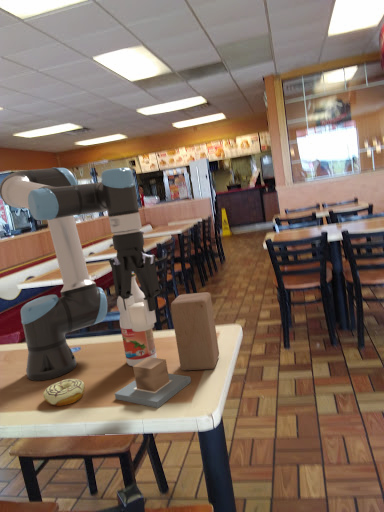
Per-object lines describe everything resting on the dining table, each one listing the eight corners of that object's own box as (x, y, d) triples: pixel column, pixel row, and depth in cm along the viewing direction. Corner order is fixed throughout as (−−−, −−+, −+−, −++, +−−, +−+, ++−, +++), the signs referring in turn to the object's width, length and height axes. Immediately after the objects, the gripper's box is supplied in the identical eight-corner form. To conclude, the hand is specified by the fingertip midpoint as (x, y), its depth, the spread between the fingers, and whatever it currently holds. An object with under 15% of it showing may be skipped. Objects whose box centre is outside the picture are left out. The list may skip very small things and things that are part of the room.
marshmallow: (127, 331, 106) (123, 308, 105) (142, 323, 110) (138, 301, 109) (144, 332, 102) (140, 308, 102) (158, 324, 107) (154, 301, 106)
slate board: (115, 399, 107) (114, 393, 107) (150, 375, 118) (149, 370, 118) (158, 407, 99) (156, 401, 99) (191, 382, 110) (190, 376, 110)
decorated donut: (50, 413, 105) (48, 399, 105) (41, 399, 114) (38, 386, 114) (91, 397, 110) (88, 384, 110) (79, 385, 120) (76, 372, 119)
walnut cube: (136, 388, 108) (132, 366, 107) (151, 378, 112) (148, 357, 112) (154, 391, 104) (150, 369, 103) (169, 381, 109) (165, 359, 108)
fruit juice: (163, 358, 130) (148, 270, 126) (137, 369, 124) (121, 277, 120) (146, 353, 137) (132, 269, 133) (121, 363, 131) (105, 276, 127)
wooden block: (215, 370, 116) (204, 299, 113) (180, 372, 118) (169, 303, 115) (220, 355, 125) (210, 290, 123) (187, 358, 127) (177, 294, 125)
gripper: (89, 237, 105) (106, 325, 108) (145, 231, 95) (161, 329, 98) (111, 232, 111) (125, 316, 115) (165, 226, 101) (180, 319, 104)
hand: (142, 322), depth 106 cm, fingers closed on marshmallow, 5 cm apart
